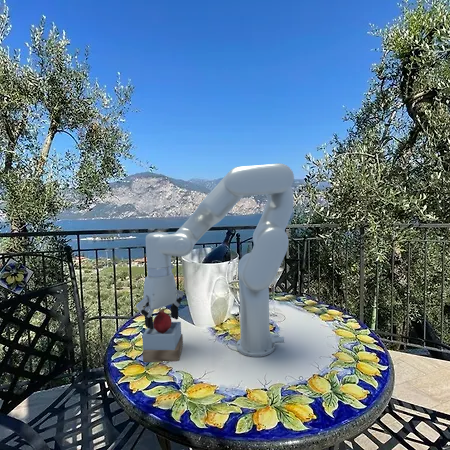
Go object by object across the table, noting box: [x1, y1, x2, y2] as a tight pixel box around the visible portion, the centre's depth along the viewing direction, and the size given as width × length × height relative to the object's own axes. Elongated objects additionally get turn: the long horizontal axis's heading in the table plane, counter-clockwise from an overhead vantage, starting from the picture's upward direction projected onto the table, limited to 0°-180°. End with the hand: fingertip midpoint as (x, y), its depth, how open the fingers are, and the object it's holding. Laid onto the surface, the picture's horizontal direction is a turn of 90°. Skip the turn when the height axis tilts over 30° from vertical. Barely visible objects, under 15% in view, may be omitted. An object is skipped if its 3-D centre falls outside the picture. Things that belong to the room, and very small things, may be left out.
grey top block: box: [141, 321, 182, 351], centre depth 101 cm, size 10×10×5 cm
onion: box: [153, 308, 173, 334], centre depth 100 cm, size 6×6×8 cm
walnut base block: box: [142, 333, 184, 363], centre depth 101 cm, size 11×11×4 cm
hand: (162, 323), depth 100 cm, fingers open, 9 cm apart
